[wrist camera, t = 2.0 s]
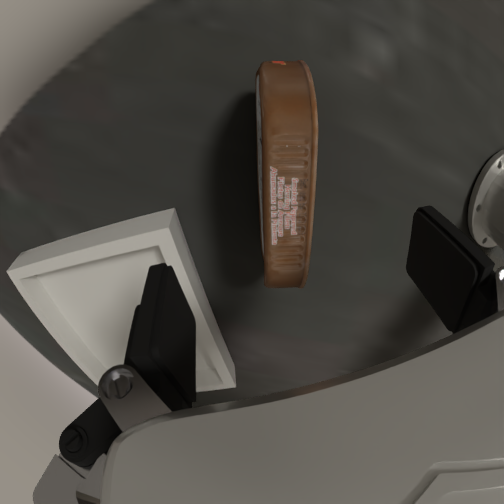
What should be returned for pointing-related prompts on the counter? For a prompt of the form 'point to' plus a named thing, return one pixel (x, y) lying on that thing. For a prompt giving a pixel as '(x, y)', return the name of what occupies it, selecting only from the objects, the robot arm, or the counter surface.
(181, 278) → the white tray
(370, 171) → the counter surface
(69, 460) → the robot arm
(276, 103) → the tin
